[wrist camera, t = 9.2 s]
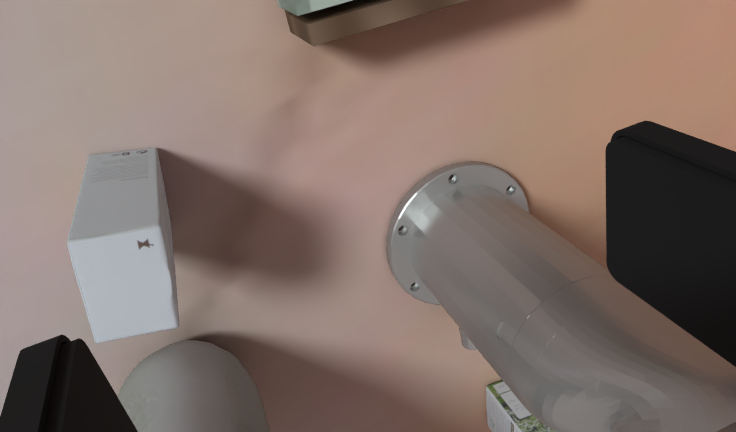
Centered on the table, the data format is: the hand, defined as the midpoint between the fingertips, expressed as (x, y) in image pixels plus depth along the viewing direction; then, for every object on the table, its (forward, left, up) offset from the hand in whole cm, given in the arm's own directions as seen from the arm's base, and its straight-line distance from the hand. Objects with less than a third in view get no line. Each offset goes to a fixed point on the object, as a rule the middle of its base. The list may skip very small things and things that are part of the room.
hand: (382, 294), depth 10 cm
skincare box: (-8, +8, -31) cm, 33 cm away
